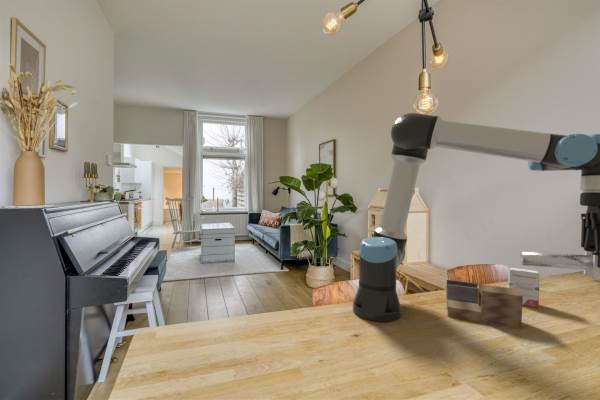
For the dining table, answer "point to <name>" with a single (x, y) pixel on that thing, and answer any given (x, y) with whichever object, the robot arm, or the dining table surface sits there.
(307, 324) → the dining table surface
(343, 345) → the dining table surface
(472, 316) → the wooden shaft support
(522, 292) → the ink box
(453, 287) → the v block
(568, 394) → the dining table surface
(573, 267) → the axle
